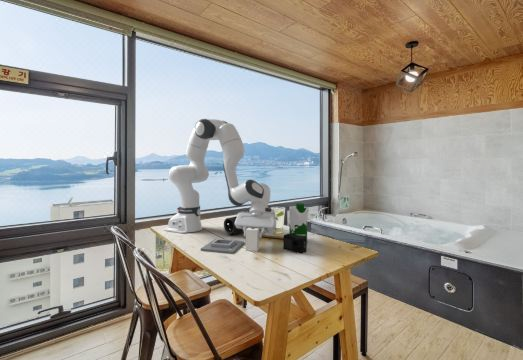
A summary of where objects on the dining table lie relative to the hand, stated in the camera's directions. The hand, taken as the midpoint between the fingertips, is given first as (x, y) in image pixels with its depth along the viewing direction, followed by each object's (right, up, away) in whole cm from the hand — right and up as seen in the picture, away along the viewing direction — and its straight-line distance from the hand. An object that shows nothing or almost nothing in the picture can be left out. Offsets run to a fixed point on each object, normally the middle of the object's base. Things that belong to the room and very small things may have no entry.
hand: (252, 236), depth 130 cm
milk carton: (+23, -6, +14) cm, 28 cm away
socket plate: (-14, -6, +5) cm, 16 cm away
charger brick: (0, -6, +1) cm, 6 cm away
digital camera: (+20, -7, 0) cm, 21 cm away
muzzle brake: (-4, -4, +34) cm, 35 cm away
